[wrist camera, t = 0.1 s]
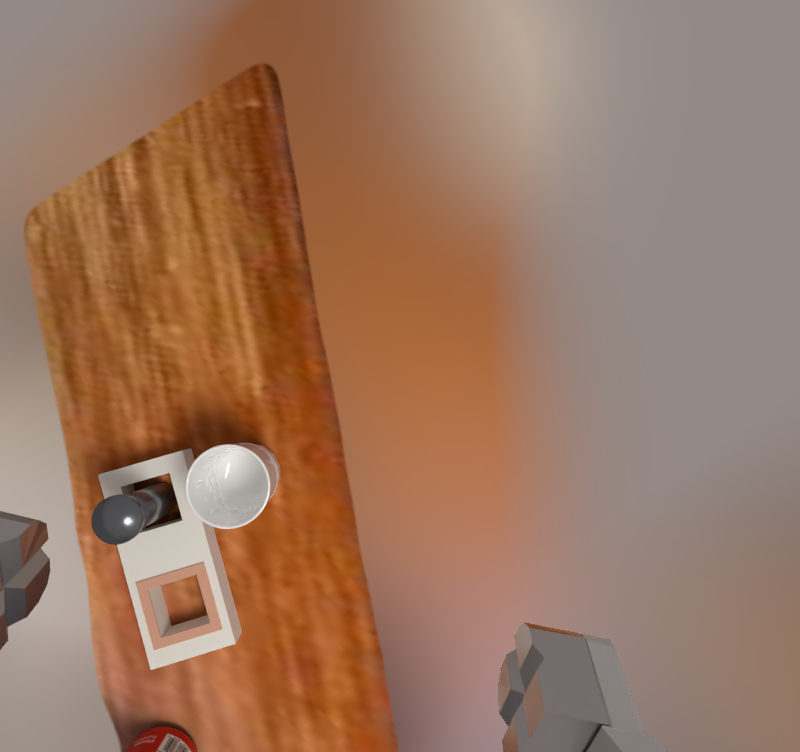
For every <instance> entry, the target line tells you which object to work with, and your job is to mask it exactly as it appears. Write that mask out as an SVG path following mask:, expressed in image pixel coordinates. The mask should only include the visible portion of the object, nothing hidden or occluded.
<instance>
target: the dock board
mask: <svg viewBox="0 0 800 752" xmlns="http://www.w3.org/2000/svg"><path fill="white" fill-rule="evenodd" d="M194 461H195V459H194V456H193V452H192V449H191V448H190V449H186V450H182V451H178V452H175V453H171V454H168V455H165V456H161V457H158V458H154V459H151V460H147V461H144V462H140V463H137V464H133V465H130V466H126V467H123V468H119V469H116V470H113V471H109V472H106V473H102V474H99V475H98V477H99V480H100V484H101V488H102V491H103V495H104V499H106V498H108V497H110V496H113V495H117V494H125V495H128V494H131V493H133V492H135V489H134V486H133V483H136V482H140V481H143V480H146V479H150V478H153V477H157V476H160V475H164V474H167V473H170V477H171V480H172V484H173V488H174V491H175V495H176V499H177V502H178V506H179V510H180V513H181V517H182V518H179V519H176V520H172V521H169V522H166V523H162V524H159V525H156V526H152V527H149V528H145V527H144V528H142V530H141V531H140V533H139V534H138V535H137V536H136V537H135V538H133V539H131V540H130V541H128V542H126V543H123V544H118V545H117V547H118V550H119V554H120V558H121V562H122V565H123V569H124V573H125V576H126V580H127V584H128V587H129V591H130V595H131V598H132V602H133V606H134V610H135V613H136V617H137V621H138V624H139V628H140V632H141V635H142V639H143V643H144V646H145V650H146V654H147V657H148V661H149V665H150V669H151V670H153V669H156V668H159V667H162V666H166V665H169V664H172V663H175V662H179V661H182V660H185V659H188V658H191V657H195V656H198V655H201V654H204V653H207V652H211V651H214V650H217V649H220V648H223V647H227V646H230V645H233V644H236V642H237V640H238V639H239V637H240V635H241V633H242V629H241V626H240V622H239V619H238V615H237V611H236V608H235V604H234V600H233V597H232V593H231V590H230V586H229V582H228V579H227V575H226V572H225V568H224V564H223V561H222V557H221V553H220V550H219V546H218V543H217V539H216V535H215V532H214V528H213V526H210V525H208V524H206V523H205V522H203V521H202V520H200V519H199V518H198V517H197V516H196V515H195V514H194V512H193V511H192V509H191V508H190V506H189V504H188V501H187V498H186V492H185V483H186V477H187V474H188V471H189V469H190V467H191V465H192V464H193V462H194ZM194 575H197V578H198V581H199V585H200V589H201V592H202V596H203V600H204V603H205V607H206V610H207V614H208V615H206V616H202V617H199V618H196V619H193V620H189V621H186V622H183V623H180V624H176V625H173V626H172V625H171V621H170V618H169V614H168V610H167V607H166V603H165V599H164V596H163V592H162V588H161V585H164V584H167V583H171V582H174V581H177V580H180V579H184V578H187V577H190V576H194Z"/></svg>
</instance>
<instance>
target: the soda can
mask: <svg viewBox="0 0 800 752" xmlns="http://www.w3.org/2000/svg"><path fill="white" fill-rule="evenodd" d="M125 752H197V750H196V748H195V746H194V744H193V742H192V741H191V739H190V738H189V737H188V736H187V735H186V734H184V733H183V732H181V731H180V730H177V729H175V728H171V727H156V728H152V729H149V730H147V731H145V732H143V733H142V734H140V735H139V736H138V737H137V738H136V739H135V740H134V741H133V742H132V743H131V744H130V746H129V747H128V748H127V750H126V751H125Z"/></svg>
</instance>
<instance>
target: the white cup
mask: <svg viewBox="0 0 800 752" xmlns="http://www.w3.org/2000/svg"><path fill="white" fill-rule="evenodd" d="M279 481H280V464H279V462H278V461H277V459H276V457H275V455H274V453H273V452H271V451H270V450H268V449H267V448H266V447H264V446H263V445H259V444H253V443H233V444H225V445H219V446H215V447H213V448H210V449H208V450H206V451H205V452H203V453H202V454H201V455H200V456H199V457H198V458H197V459H196V460H195V461H194V462H193V464H192V465H191V467H190V469H189V471H188V474H187V477H186V483H185V492H186V498H187V501H188V504H189V506H190V508H191V509H192V511H193V512H194V514H195V515H196V516H197V517H198V518H199V519H200V520H202V521H203V522H205V523H206V524H208V525H210V526H213V527H216V528H221V529H232V528H238V527H241V526H244V525H246V524H248V523H249V522H251V521H252V520H254V519H255V518H256V517H257V516H258V515H259V514H260V513H261V512H262V510H263V509H264V507H265V506H266V505H267V503H268V502H269V501H270V499H271V497H272V496H273V494H274V492H275V490H276V488H277V485H278V483H279Z"/></svg>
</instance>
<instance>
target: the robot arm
mask: <svg viewBox="0 0 800 752" xmlns="http://www.w3.org/2000/svg"><path fill="white" fill-rule="evenodd" d="M47 540H48V532H47V524H46V523H44V522H41V521H39V520H35V519H31V518H27V517H22V516H18V515H14V514H10V513H6V512H1V511H0V650H1V648H2V647H3V646H4V645H5V643H6V642H7V641H8V626H10V625H12V624H14V623H16V622H18V621H20V620H22V619H24V618H26V617H27V616H28V615H29V614H30V612H31V611H32V610H33V609H34V607H35V606H36V605H37V603H38V602H39V600H40V598H41V596H42V594H43V592H44V590H45V588H46V586H47V583H48V579H49V574H50V559H49V558H48V557H47V555H46V554H45V553H44V552H43V550H42V549H41V547H42V546H43V544H44V543H45V542H46V541H47ZM515 644H516V650H514V651H512V652H510V653H508V654H507V655H506V657H505V660H504V662H503V665H502V667H501V672H500V678H499V683H498V702H499V713H500V715H501V716H502V718H503V719H504V721H505V722H506V724H507V725H508V729H507V731H506V734H505V736H504V738H503V740H502V743H503V751H504V752H667V751H666V750H665V749H664V748H663V746H662V745H661V744H660V743H659V742H658V741H657V739H656V738H655V737H654V736H651V735H647V734H645V733H644V731H643V728H642V725H641V722H640V719H639V716H638V713H637V710H636V707H635V704H634V701H633V699H632V695H631V692H630V690H629V687H628V684H627V681H626V678H625V675H624V672H623V669H622V666H621V663H620V660H619V657H618V654H617V652H616V649H615V646H614V644H613V643H612V642H611V641H610V640H608V639H604V638H599V637H594V636H589V635H584V634H578V633H575V632H570V631H565V630H560V629H555V628H550V627H545V626H540V625H535V624H530V623H525V622H524V623H523V624H522V625H521V626H520V627H519V628H518V631H517V633H516V635H515Z"/></svg>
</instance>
